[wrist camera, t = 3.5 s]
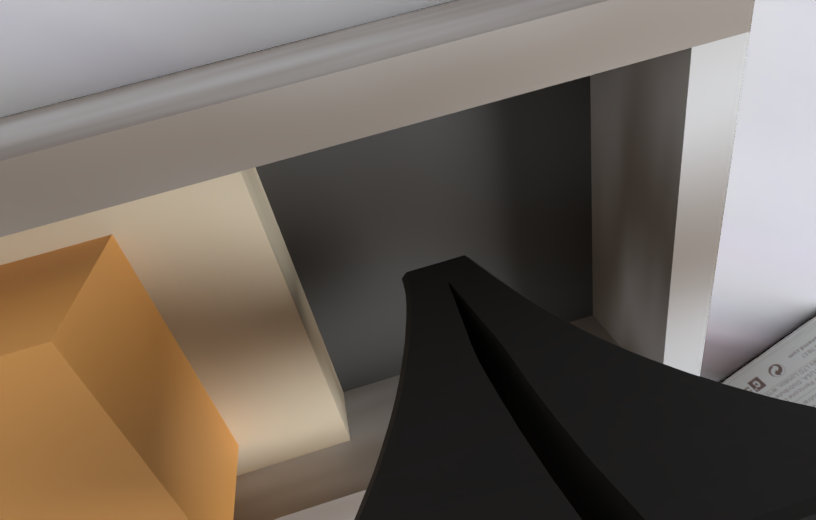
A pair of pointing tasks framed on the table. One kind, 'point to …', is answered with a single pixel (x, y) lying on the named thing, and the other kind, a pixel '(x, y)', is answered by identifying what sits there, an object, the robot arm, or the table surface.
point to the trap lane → (396, 203)
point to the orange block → (102, 399)
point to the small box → (784, 369)
